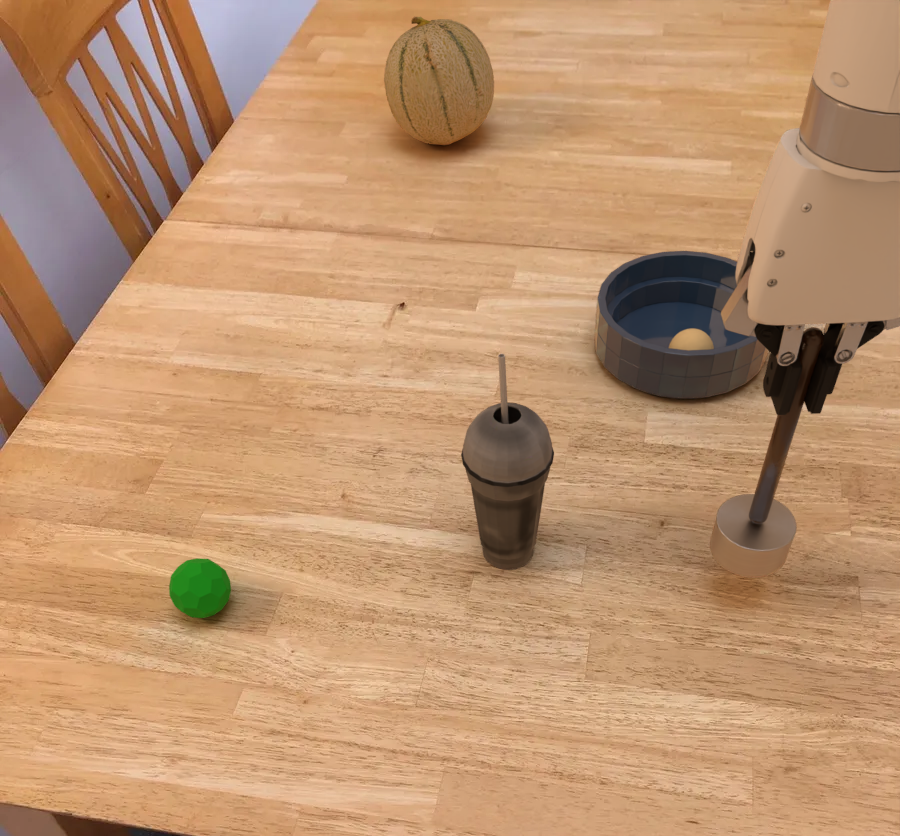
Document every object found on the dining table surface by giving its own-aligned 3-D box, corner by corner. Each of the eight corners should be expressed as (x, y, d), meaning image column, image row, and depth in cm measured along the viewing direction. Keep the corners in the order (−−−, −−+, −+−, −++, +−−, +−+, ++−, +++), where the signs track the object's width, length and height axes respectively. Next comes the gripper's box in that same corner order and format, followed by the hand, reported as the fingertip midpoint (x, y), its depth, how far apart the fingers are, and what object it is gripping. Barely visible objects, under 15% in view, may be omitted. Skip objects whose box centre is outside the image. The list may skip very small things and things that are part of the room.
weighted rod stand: (783, 523, 75) (858, 302, 59) (790, 580, 71) (873, 361, 55) (707, 519, 76) (760, 299, 59) (711, 575, 72) (769, 357, 56)
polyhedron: (248, 602, 79) (234, 566, 75) (203, 638, 77) (187, 603, 73) (211, 574, 81) (196, 538, 78) (167, 608, 79) (149, 572, 76)
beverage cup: (481, 591, 79) (473, 408, 63) (456, 531, 83) (443, 346, 67) (561, 569, 80) (573, 384, 64) (533, 511, 84) (538, 324, 68)
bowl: (746, 296, 102) (757, 246, 97) (782, 400, 91) (796, 350, 87) (586, 304, 103) (590, 255, 98) (603, 408, 92) (607, 359, 87)
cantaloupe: (488, 166, 123) (485, 44, 111) (380, 163, 125) (366, 43, 113) (501, 114, 132) (500, -5, 120) (401, 112, 134) (390, -5, 122)
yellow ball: (692, 351, 88) (727, 359, 90) (682, 314, 90) (717, 324, 92) (664, 378, 92) (698, 386, 94) (655, 343, 94) (689, 351, 96)
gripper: (1008, 77, 49) (895, 360, 64) (712, 94, 50) (667, 370, 64) (1066, 146, 45) (930, 434, 59) (739, 163, 45) (684, 444, 60)
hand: (793, 399), depth 62 cm, fingers closed on weighted rod stand, 1 cm apart
